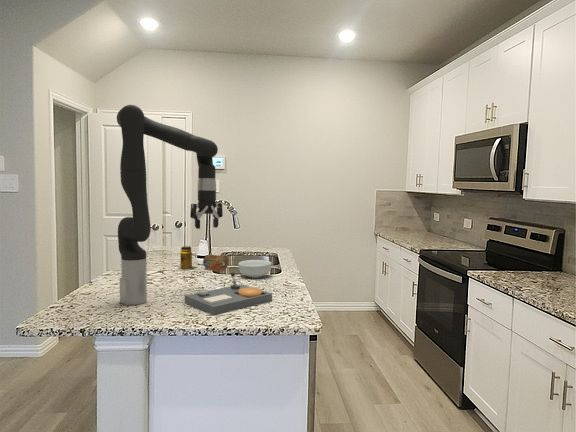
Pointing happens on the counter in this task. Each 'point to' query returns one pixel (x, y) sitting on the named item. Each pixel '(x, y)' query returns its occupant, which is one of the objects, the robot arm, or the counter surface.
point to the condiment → (186, 258)
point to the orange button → (250, 292)
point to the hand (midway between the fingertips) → (206, 228)
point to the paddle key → (217, 299)
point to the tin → (215, 262)
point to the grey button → (203, 292)
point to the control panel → (229, 305)
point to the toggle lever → (233, 278)
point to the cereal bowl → (255, 268)
